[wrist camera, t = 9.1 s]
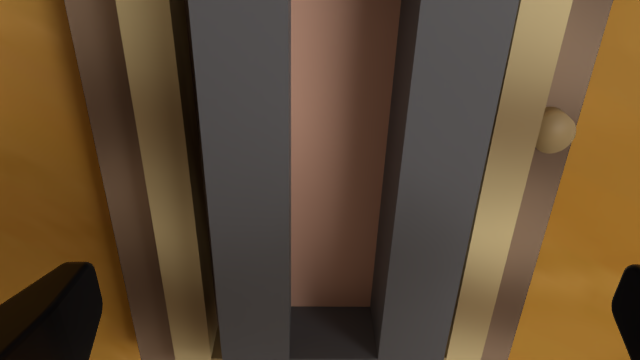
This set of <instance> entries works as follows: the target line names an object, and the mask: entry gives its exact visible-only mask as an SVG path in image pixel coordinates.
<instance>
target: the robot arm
mask: <svg viewBox="0 0 640 360" xmlns="http://www.w3.org/2000/svg"><path fill="white" fill-rule="evenodd" d="M102 306H103V303H102V296H101V292H100V288H99V284H98V280H97V276H96V272H95V269H94V267H93V265H92V264H91V263H89V262H66V263H63V264H62V265H60V266H58V267H57V268H55V269H54V270H52V271H51V272H49V273H48V274H46V275H45V276H43V277H42V278H40V279H39V280H37V281H36V282H34V283H33V284H31V285H30V286H28V287H27V288H25V289H24V290H22V291H21V292H19V293H18V294H16V295H15V296H13V297H12V298H10V299H9V300H7V301H6V302H4V303H2V304H1V305H0V360H89V357H90V354H91V350H92V346H93V343H94V339H95V336H96V332H97V328H98V325H99V321H100V318H101V314H102ZM612 313H613V316H614V319H615V321H616V324H617V326H618V329H619V331H620V334H621V336H622V339H623V341H624V344H625V346H626V349H627V351H628V354H629V356H630V359H631V360H640V265H638V264H634V265H630V266H628V267H627V268H626V269H625V270H624V272H623V275H622V277H621V280H620V282H619V285H618V287H617V289H616V292H615V294H614V297H613V300H612Z"/></svg>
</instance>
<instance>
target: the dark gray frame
mask: <svg viewBox="0 0 640 360" xmlns="http://www.w3.org/2000/svg"><path fill="white" fill-rule="evenodd" d="M518 5H519V0H188V6H189V17H190V27H191V38H192V48H193V59H194V69H195V80H196V90H197V101H198V111H199V122H200V132H201V143H202V153H203V163H204V174H205V184H206V195H207V205H208V216H209V226H210V237H211V247H212V258H213V268H214V279H215V289H216V300H217V310H218V321H219V331H220V342H221V352H222V360H444V355H445V351H446V346H447V341H448V336H449V332H450V327H451V322H452V317H453V313H454V308H455V303H456V299H457V294H458V289H459V284H460V280H461V275H462V270H463V265H464V261H465V256H466V251H467V246H468V242H469V237H470V232H471V227H472V223H473V218H474V213H475V208H476V204H477V199H478V194H479V190H480V185H481V180H482V175H483V171H484V166H485V161H486V156H487V152H488V147H489V142H490V137H491V133H492V128H493V123H494V118H495V114H496V109H497V104H498V100H499V95H500V90H501V85H502V81H503V76H504V71H505V66H506V62H507V57H508V52H509V47H510V43H511V38H512V33H513V28H514V24H515V19H516V14H517V10H518Z"/></svg>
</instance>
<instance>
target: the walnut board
mask: <svg viewBox="0 0 640 360" xmlns="http://www.w3.org/2000/svg"><path fill="white" fill-rule="evenodd" d="M64 2H65V7H66V12H67V16H68V21H69V25H70V30H71V35H72V39H73V44H74V49H75V53H76V58H77V63H78V67H79V72H80V77H81V81H82V86H83V91H84V95H85V100H86V105H87V109H88V114H89V119H90V123H91V128H92V133H93V137H94V142H95V147H96V151H97V156H98V161H99V165H100V170H101V175H102V179H103V184H104V189H105V193H106V198H107V203H108V207H109V212H110V217H111V221H112V226H113V231H114V235H115V240H116V245H117V249H118V254H119V259H120V263H121V268H122V273H123V277H124V282H125V287H126V291H127V296H128V301H129V305H130V310H131V315H132V319H133V324H134V329H135V333H136V338H137V343H138V347H139V352H140V357H141V360H222V352H221V342H220V331H219V321H218V310H217V300H216V289H215V279H214V268H213V258H212V247H211V237H210V226H209V216H208V205H207V195H206V184H205V174H204V163H203V153H202V143H201V132H200V122H199V111H198V101H197V90H196V80H195V69H194V59H193V48H192V38H191V27H190V17H189V6H188V0H64ZM612 3H613V0H519V5H518V10H517V14H516V19H515V24H514V28H513V33H512V38H511V43H510V47H509V52H508V57H507V62H506V66H505V71H504V76H503V81H502V85H501V90H500V95H499V100H498V104H497V109H496V114H495V118H494V123H493V128H492V133H491V137H490V142H489V147H488V152H487V156H486V161H485V166H484V171H483V175H482V180H481V185H480V190H479V194H478V199H477V204H476V208H475V213H474V218H473V223H472V227H471V232H470V237H469V242H468V246H467V251H466V256H465V261H464V265H463V270H462V275H461V280H460V284H459V289H458V294H457V299H456V303H455V308H454V313H453V317H452V322H451V327H450V332H449V336H448V341H447V346H446V351H445V355H444V360H508V357H509V354H510V350H511V347H512V343H513V340H514V336H515V333H516V330H517V326H518V323H519V319H520V316H521V313H522V309H523V306H524V302H525V299H526V296H527V292H528V289H529V285H530V282H531V279H532V275H533V272H534V268H535V265H536V262H537V258H538V255H539V251H540V248H541V244H542V241H543V238H544V234H545V231H546V227H547V224H548V221H549V217H550V214H551V210H552V207H553V204H554V200H555V197H556V193H557V190H558V187H559V183H560V180H561V176H562V173H563V170H564V166H565V163H566V159H567V156H568V152H569V149H570V146H571V142H572V141H573V139H574V137H575V134H576V125H577V122H578V118H579V115H580V112H581V108H582V105H583V101H584V98H585V95H586V91H587V88H588V84H589V81H590V78H591V74H592V71H593V67H594V64H595V60H596V57H597V54H598V50H599V47H600V43H601V40H602V37H603V33H604V30H605V26H606V23H607V20H608V16H609V13H610V9H611V6H612Z"/></svg>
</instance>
